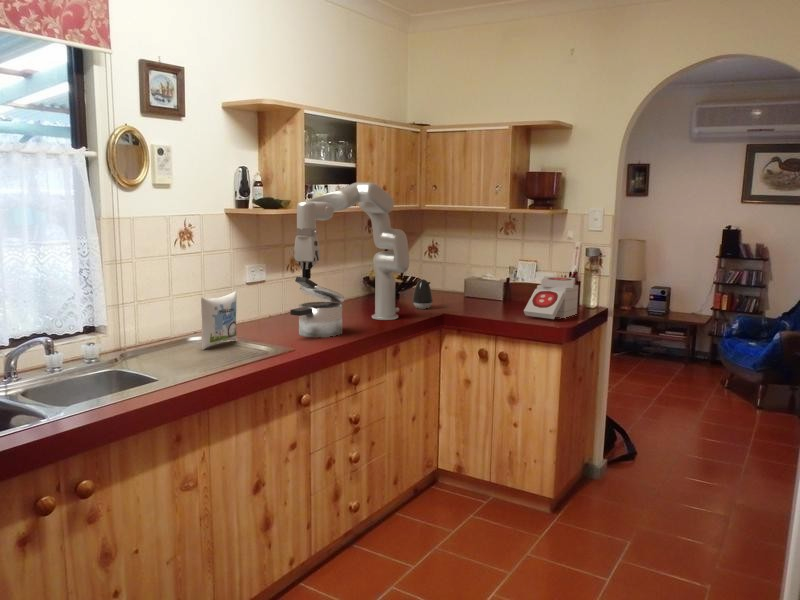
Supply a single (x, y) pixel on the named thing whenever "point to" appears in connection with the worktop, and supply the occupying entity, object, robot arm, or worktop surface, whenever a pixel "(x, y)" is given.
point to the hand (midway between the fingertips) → (306, 278)
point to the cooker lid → (318, 290)
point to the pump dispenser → (422, 295)
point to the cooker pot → (319, 319)
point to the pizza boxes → (553, 298)
